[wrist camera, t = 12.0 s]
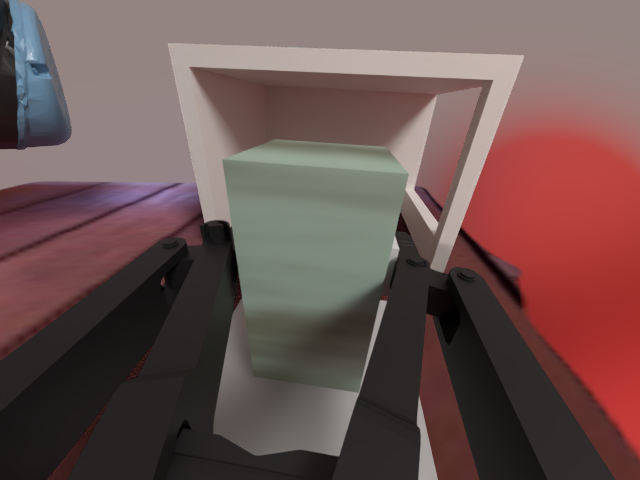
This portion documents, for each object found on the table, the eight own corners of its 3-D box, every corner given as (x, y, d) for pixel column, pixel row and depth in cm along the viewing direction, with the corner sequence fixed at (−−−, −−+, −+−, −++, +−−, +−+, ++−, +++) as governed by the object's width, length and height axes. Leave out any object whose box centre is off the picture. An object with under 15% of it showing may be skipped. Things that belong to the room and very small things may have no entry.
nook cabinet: (442, 275, 26) (524, 55, 17) (210, 249, 29) (167, 43, 19) (406, 208, 44) (437, 82, 35) (265, 195, 47) (257, 74, 37)
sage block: (358, 392, 13) (408, 173, 7) (253, 376, 14) (222, 159, 8) (357, 312, 18) (385, 146, 13) (281, 302, 19) (274, 139, 13)
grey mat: (449, 550, 10) (453, 548, 10) (135, 484, 11) (132, 480, 11) (397, 305, 22) (398, 302, 22) (250, 287, 23) (250, 283, 23)
